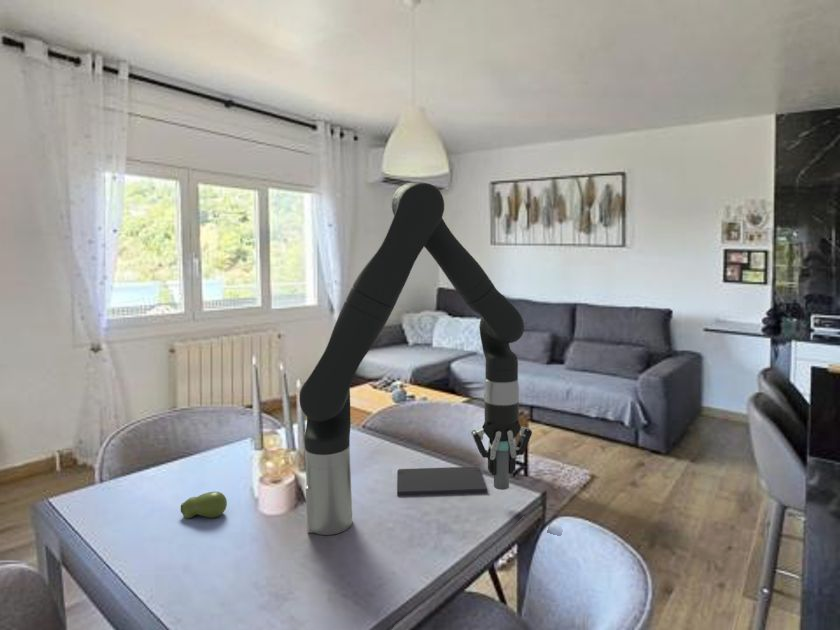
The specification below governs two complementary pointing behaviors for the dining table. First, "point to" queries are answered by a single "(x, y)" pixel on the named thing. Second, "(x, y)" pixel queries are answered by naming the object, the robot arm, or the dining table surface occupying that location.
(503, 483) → the marker
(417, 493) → the notebook
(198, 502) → the pear
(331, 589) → the dining table surface
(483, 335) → the robot arm
